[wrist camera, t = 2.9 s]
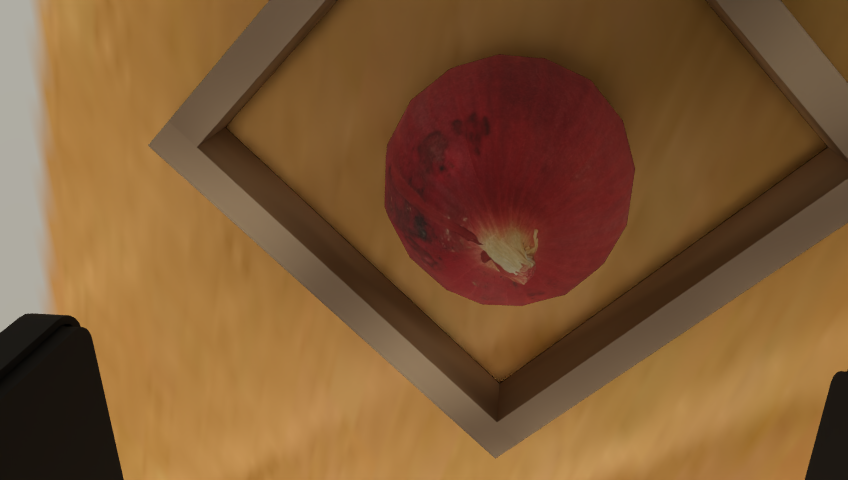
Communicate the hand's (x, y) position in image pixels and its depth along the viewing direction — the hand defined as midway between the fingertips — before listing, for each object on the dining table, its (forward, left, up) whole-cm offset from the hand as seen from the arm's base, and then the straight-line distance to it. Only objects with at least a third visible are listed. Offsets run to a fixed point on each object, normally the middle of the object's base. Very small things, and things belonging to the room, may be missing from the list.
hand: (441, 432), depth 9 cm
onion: (0, -1, -13) cm, 13 cm away
